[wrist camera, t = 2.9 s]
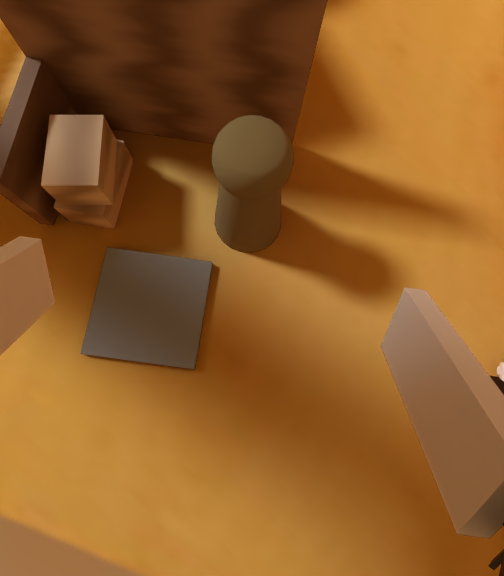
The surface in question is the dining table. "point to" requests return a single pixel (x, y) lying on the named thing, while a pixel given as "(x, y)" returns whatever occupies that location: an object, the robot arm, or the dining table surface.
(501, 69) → the dining table surface
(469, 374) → the robot arm
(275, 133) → the olive brown peg
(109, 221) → the offcut lower
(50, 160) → the offcut upper
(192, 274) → the coaster
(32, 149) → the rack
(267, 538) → the dining table surface
